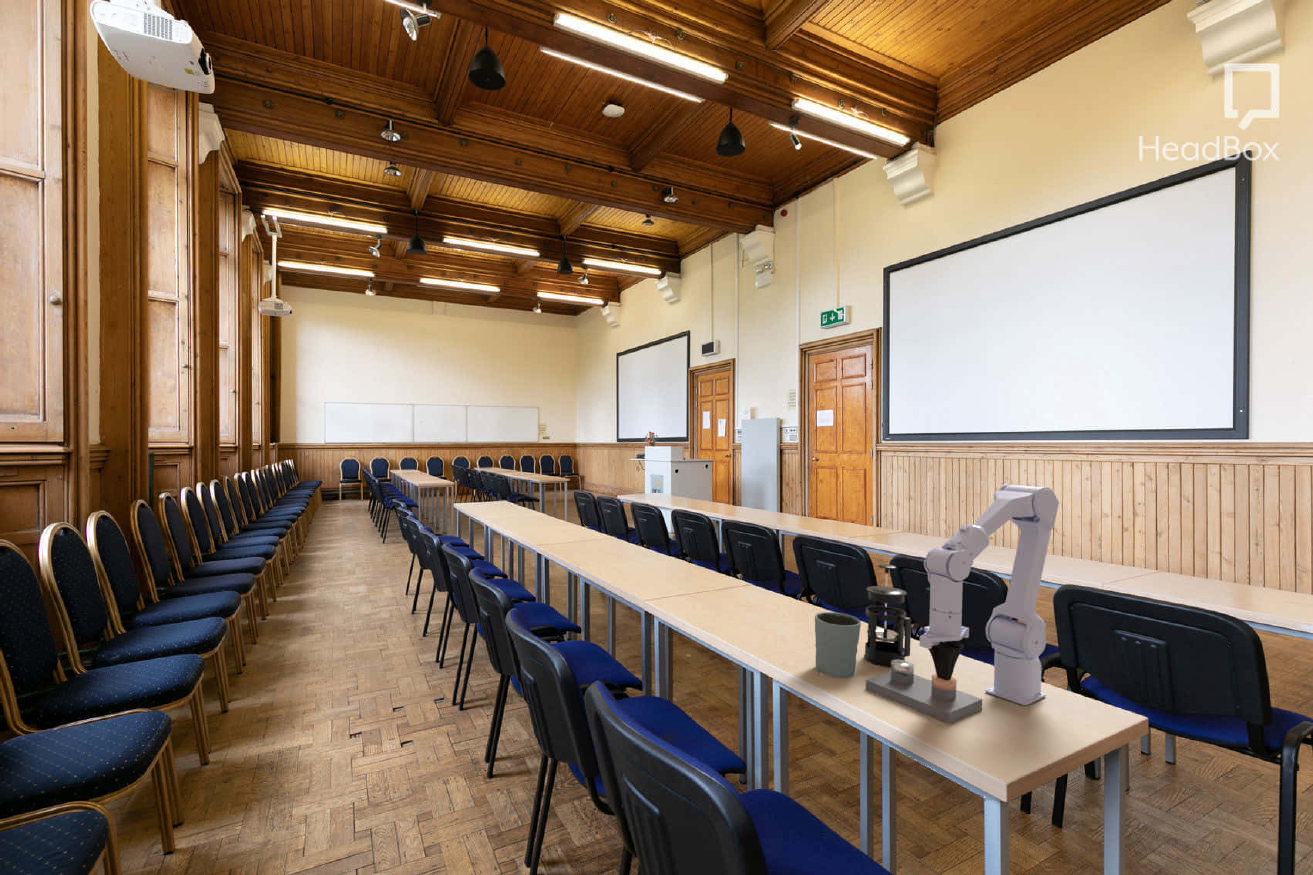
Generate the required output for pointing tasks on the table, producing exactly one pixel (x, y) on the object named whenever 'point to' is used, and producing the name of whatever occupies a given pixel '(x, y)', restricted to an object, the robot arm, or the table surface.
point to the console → (924, 696)
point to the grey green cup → (836, 643)
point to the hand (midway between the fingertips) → (943, 678)
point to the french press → (883, 650)
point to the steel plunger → (902, 667)
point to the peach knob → (943, 683)
